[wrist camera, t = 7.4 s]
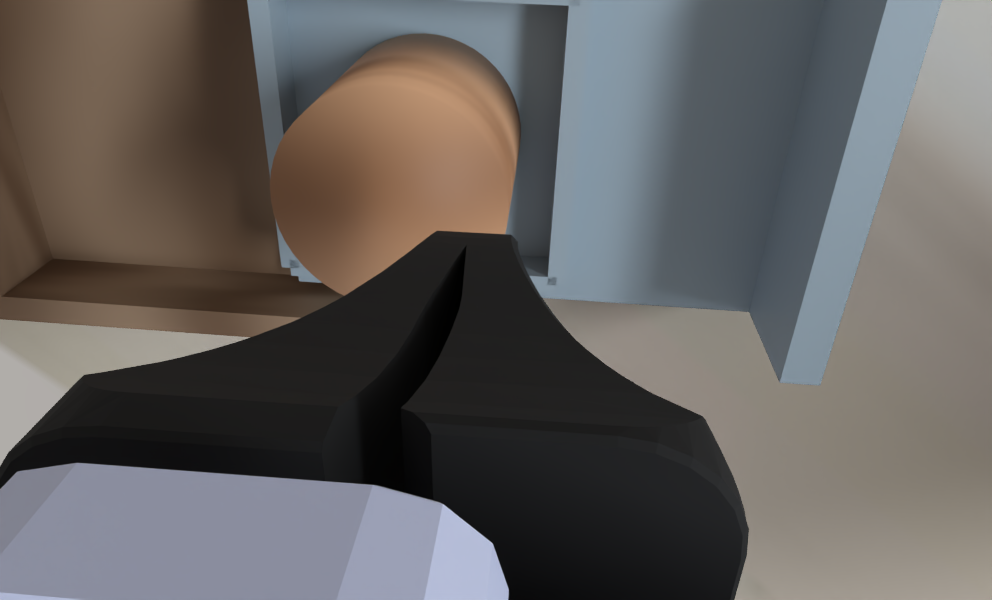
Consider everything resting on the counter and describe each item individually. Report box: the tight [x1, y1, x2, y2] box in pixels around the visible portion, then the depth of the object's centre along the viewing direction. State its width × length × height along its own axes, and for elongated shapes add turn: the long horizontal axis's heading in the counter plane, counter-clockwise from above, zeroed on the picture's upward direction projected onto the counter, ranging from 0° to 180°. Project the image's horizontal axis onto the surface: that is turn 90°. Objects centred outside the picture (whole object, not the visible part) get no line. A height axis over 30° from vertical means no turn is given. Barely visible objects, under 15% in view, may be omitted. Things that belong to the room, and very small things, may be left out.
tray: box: [247, 0, 942, 385], centre depth 18 cm, size 14×10×4 cm
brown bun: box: [270, 33, 521, 296], centre depth 17 cm, size 5×5×5 cm
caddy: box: [0, 0, 344, 337], centre depth 20 cm, size 16×12×4 cm
